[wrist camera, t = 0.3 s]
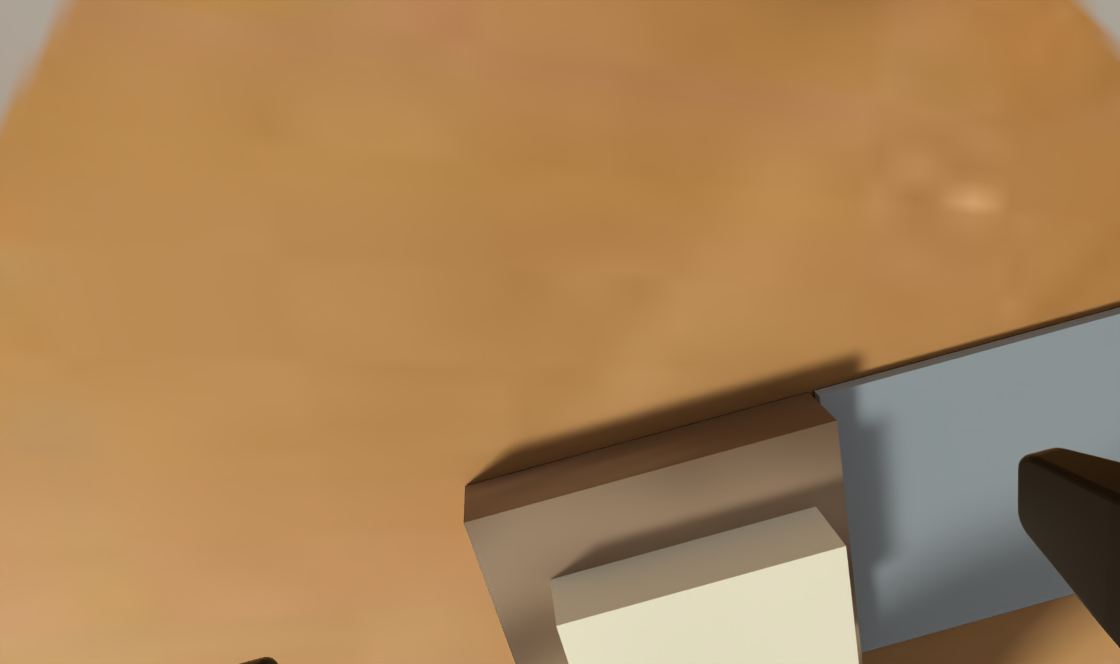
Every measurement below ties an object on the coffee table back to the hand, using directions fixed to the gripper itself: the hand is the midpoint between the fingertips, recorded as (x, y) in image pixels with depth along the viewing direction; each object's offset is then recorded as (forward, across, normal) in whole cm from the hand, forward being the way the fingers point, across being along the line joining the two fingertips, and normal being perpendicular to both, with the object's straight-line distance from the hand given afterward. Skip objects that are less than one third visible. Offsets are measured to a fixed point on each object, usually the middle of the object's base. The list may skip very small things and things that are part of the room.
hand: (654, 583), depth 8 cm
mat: (+14, -14, +12) cm, 23 cm away
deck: (+14, -2, +12) cm, 19 cm away
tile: (+12, -2, +12) cm, 17 cm away
